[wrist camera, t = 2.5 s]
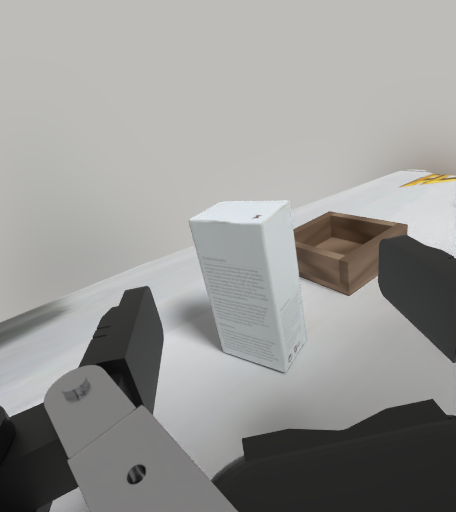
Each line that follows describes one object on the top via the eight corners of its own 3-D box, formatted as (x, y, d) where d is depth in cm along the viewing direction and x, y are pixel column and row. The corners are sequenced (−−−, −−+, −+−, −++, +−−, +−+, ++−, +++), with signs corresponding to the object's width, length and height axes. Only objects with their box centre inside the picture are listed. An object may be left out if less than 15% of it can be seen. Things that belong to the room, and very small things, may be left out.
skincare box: (308, 338, 26) (293, 199, 21) (286, 375, 23) (262, 223, 18) (246, 322, 30) (220, 199, 25) (220, 352, 27) (185, 219, 22)
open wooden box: (406, 254, 35) (407, 224, 33) (349, 295, 30) (348, 262, 29) (331, 236, 43) (329, 211, 41) (276, 267, 38) (272, 239, 37)
